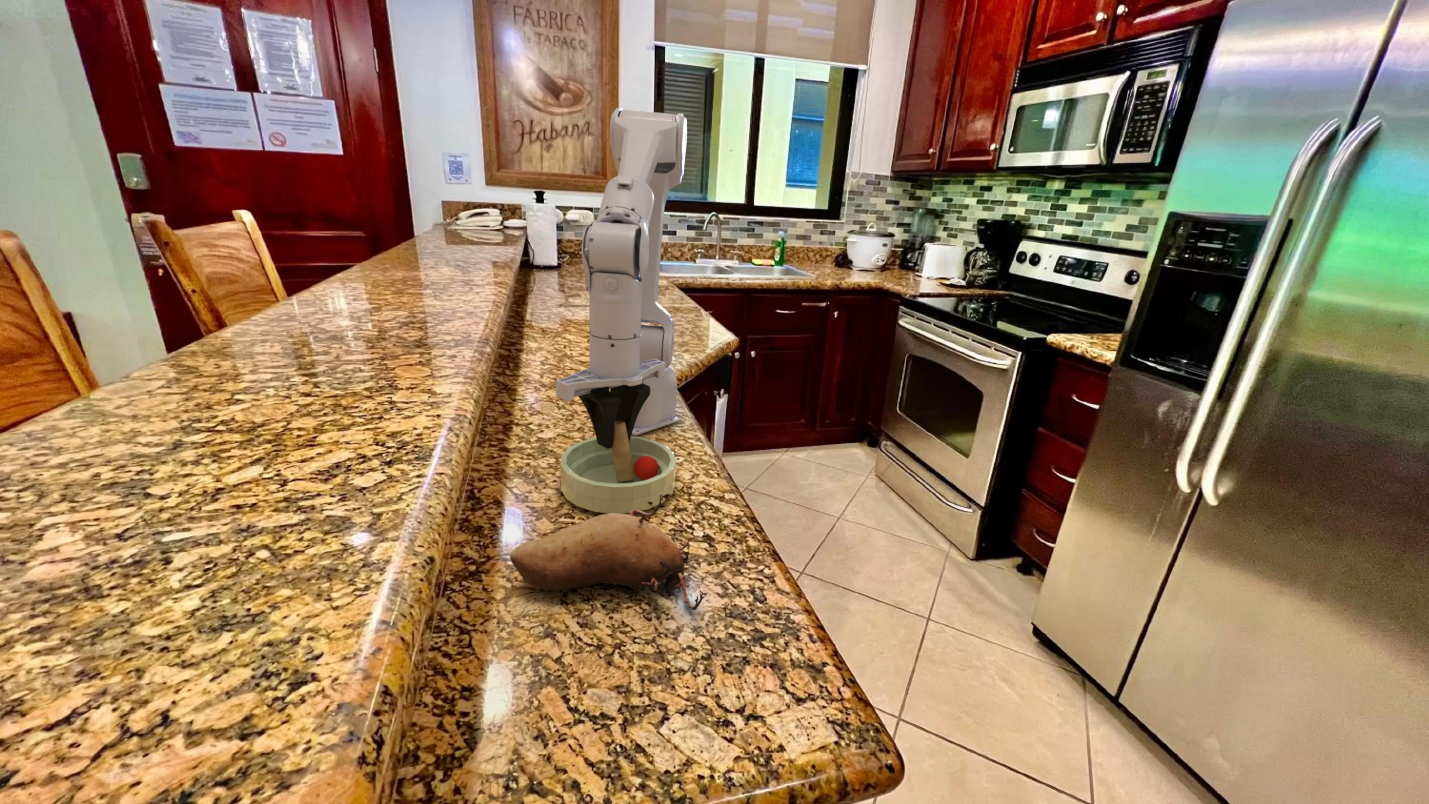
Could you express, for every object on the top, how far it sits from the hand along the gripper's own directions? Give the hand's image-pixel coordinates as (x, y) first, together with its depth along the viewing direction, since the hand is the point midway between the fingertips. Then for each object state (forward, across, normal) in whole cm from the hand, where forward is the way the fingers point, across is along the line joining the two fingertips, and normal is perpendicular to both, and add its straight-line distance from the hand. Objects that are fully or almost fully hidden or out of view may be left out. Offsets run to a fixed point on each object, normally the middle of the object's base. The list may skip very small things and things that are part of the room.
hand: (613, 442), depth 67 cm
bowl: (+5, -1, -2) cm, 6 cm away
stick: (+4, 0, -2) cm, 5 cm away
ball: (+3, +2, -4) cm, 5 cm away
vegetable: (+5, -14, -16) cm, 22 cm away
